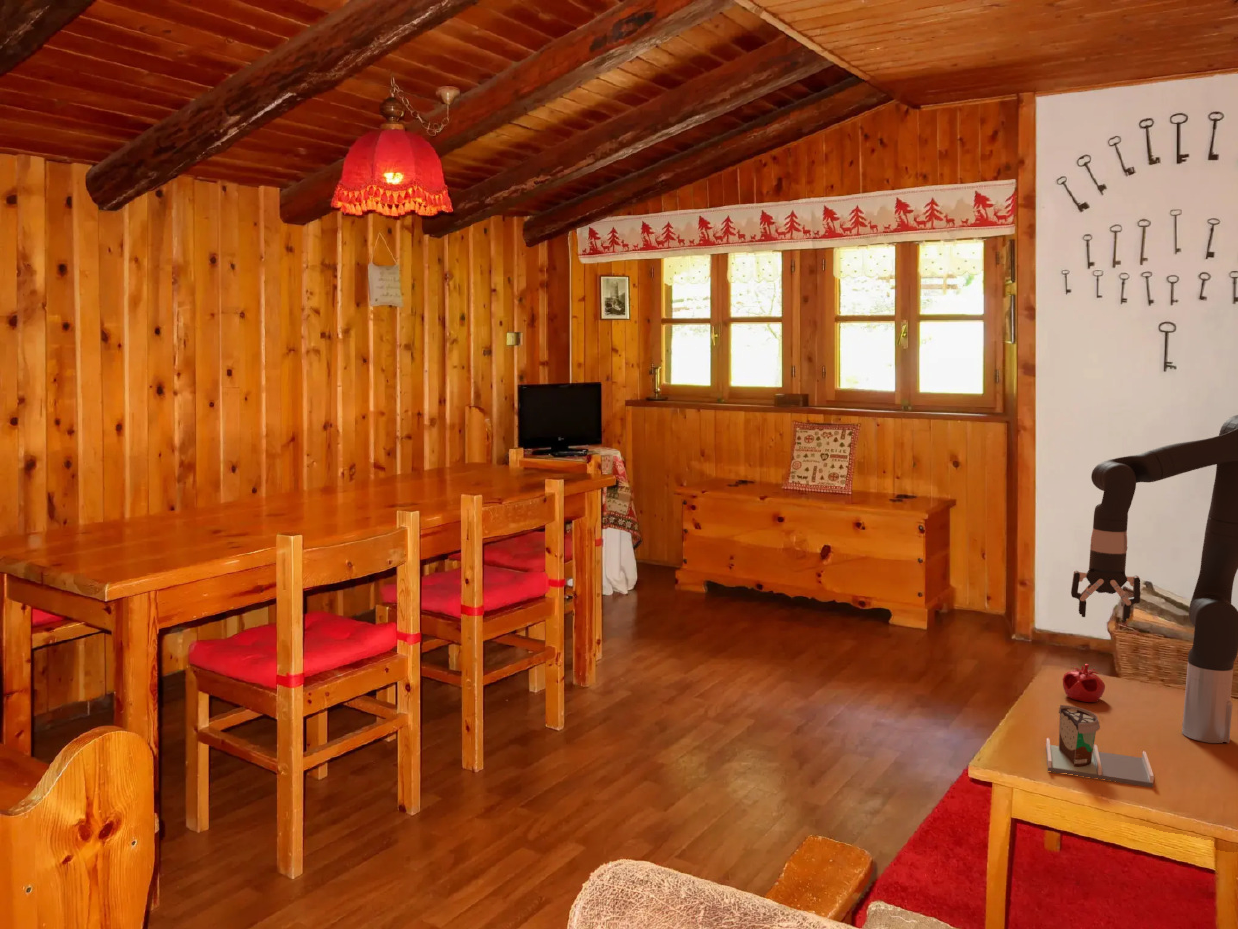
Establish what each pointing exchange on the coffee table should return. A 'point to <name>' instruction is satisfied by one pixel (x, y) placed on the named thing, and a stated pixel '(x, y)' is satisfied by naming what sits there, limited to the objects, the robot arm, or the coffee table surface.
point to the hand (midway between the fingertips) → (1103, 618)
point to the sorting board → (1104, 766)
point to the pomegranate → (1083, 685)
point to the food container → (1077, 734)
